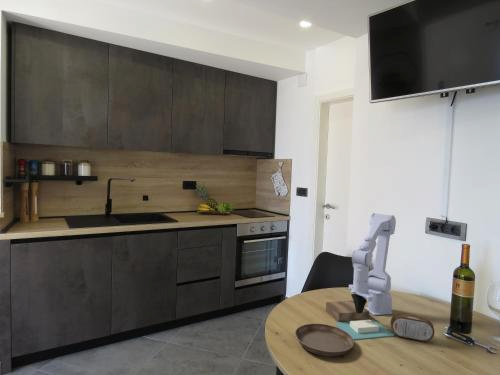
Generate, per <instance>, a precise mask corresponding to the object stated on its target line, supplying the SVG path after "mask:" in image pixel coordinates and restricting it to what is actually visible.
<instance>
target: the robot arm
mask: <svg viewBox="0 0 500 375" xmlns="http://www.w3.org/2000/svg"><path fill="white" fill-rule="evenodd" d="M396 220H397V219H396V217H395V215H393V214H392V215H390V214H382V213H381V214H380V213H373V212H372V214H370V217H369V225H370V228H369V231H368V233H367V236H364V237H363V238H362V240H361V241H360V244H359V246H358V248H357V249H356V250H354V251H353V252H352V254H351V255H352V256H351V262H352V268H353V281H352V283H353V284H348V290H350V293H351V295H350V296H351V298H352V301H354V304H355V309H356V312H357V313H362V312H363V309H364V308H366V309H367V310H368V311H369V314H371V315H373V316H381V315H392V314H393V312H392V304H393V298H392V294H391V293H390V290H391V287H392V284H391V283H392V282H391V281H392V280H391V279H392V278H391V275H389V273H387V271H386V266H387V259H388V252H389V245H390V239H391V235H392V236H393V235H394V234H395V231H396V225H397V221H396ZM376 240H377V241H376ZM375 249H376V251H375ZM374 251H375V256H374V254H373V252H374ZM373 256H374V257H375V259H374V266H373V269H371V270H370V266H371V264H372V260H373ZM367 303H368V306H366V304H367Z"/></svg>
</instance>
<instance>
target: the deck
mask: <svg viewBox="0 0 500 375" xmlns="http://www.w3.org/2000/svg"><path fill="white" fill-rule="evenodd" d="M325 312H326V313H327V314H329V315H330V317H331V318H333V319H334V320H335V321H336V322H349V321H360V320H370V312H369V311H368V310H367V309H366V308H364V309H363V312H362V313H357V312H356V309H355V304H354V300H344V301H343V300H340V301H339V300H338V301H327V302H325Z"/></svg>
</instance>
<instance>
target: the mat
mask: <svg viewBox="0 0 500 375" xmlns="http://www.w3.org/2000/svg"><path fill="white" fill-rule="evenodd" d="M370 320H371V321H372V322H374V323H375V324H376V325H378V326H379V331H377V332H366V333H357V332H356V331H355V330H354V329H353V328H351V327H350V321H349V322H337V321H336V322H334V325H336V326H337V328H339V329H342V330H344V331H345V332H347V333H348V334H349V335H350V336H351V337H352V338H353V340H354V341H356V340H358V341H359V340H367V339H369V340H370V339H378V338H389V337H390V338H391V337H395V335H396V334H395V333H392V332H391V331H390V330H389V329H387V328H386V327H385V326H383V325H382V324H380V323H379V322H378V321H376V320H375V319H370Z"/></svg>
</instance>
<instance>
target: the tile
mask: <svg viewBox="0 0 500 375" xmlns="http://www.w3.org/2000/svg"><path fill="white" fill-rule="evenodd" d="M371 320H372V319H369V320H360V321H350V327H351V328H353V329H354V330H355V331H356V332H357V333H366V332H377V331H379V326H378V325H376V324H375V323H374V322H372V321H371Z"/></svg>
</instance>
